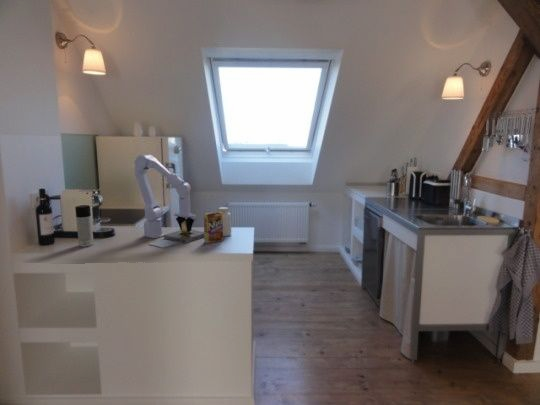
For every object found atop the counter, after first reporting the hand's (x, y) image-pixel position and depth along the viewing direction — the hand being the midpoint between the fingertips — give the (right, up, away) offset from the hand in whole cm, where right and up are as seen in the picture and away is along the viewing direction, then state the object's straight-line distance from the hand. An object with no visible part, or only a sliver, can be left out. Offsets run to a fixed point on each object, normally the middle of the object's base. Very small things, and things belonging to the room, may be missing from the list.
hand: (185, 230), depth 203 cm
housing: (0, -4, +1) cm, 4 cm away
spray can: (-47, -7, -13) cm, 49 cm away
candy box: (+16, -5, -7) cm, 18 cm away
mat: (-8, -6, -12) cm, 16 cm away
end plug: (0, -3, +1) cm, 3 cm away
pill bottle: (+20, -3, +5) cm, 21 cm away
